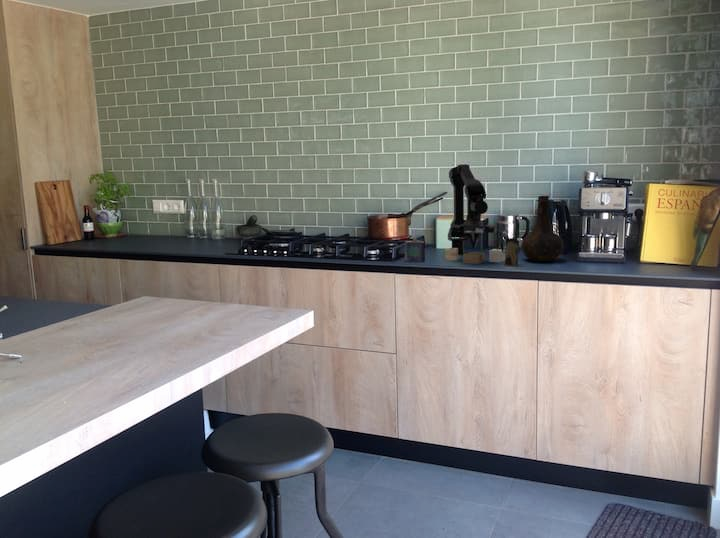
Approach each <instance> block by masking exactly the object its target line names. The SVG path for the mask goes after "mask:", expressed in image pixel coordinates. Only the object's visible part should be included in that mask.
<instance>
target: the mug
mask: <svg viewBox="0 0 720 538" xmlns="http://www.w3.org/2000/svg"><path fill="white" fill-rule="evenodd" d="M504 238H505V240H504ZM504 241H505V252H504V251H503V250H504ZM518 242H519V241H518V239H517V238H512V237H511V238H510V237H508V236H507V235H504V236H501V237H500V246H501V247H500V248H501V249H502V252H503V253H505V261H504V267H517V266H518V265H519V243H518Z"/></svg>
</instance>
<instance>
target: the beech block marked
mask: <svg viewBox="0 0 720 538" xmlns="http://www.w3.org/2000/svg"><path fill="white" fill-rule="evenodd" d="M444 250H445V252H444V258H445V259H444V261H449V262H451V261H452V262H456V261H458V259H459V254H458V248H452V247H447V248H445V249H444Z"/></svg>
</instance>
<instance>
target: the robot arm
mask: <svg viewBox="0 0 720 538" xmlns="http://www.w3.org/2000/svg"><path fill="white" fill-rule="evenodd" d="M448 178H449V182H450V184H451V185H452V187H453V219H452V221H451V223H450V224H449V225H450V227H449V229H448V233H447V240H448V241H449V242H451V248H458V255H463V254H465V253H467V251H466V250H465V247H464V246H465V242H464V241H468V240H469V242H470V244H471V247H472V249H476V246H477V244H478V241H479V240H480V237H481V234H484V233H486V234H487V233H489V234H490V233H491V234H494V233H496V232H497V230H498V226H497V225H496V224H486V225H484V226H483V225H482V221H481V220H482V219H481V217H482V215H484V214H485V213H487V211H488V208H489V205H488V203H487V201H484V200H487V192H486V189H485V187H484V185H483V183H482V182H481V181H480V180H478V179H476V178H475V176H474V174H473V172H472V171H471V168H470V164H466V163H465V164H458V165H456V166H455V167H452V168H451V169H450V170H449V171H448ZM464 195H465V197H466V200H467V202H466V204H467V206H466V207H467V209H466V210H467V213H466V214H467V215H466V219H465V217H464V216H465V215H464V213H465V212H464V209H465V207H464V206H465V205H464V201H465V198H464Z"/></svg>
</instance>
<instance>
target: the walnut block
mask: <svg viewBox="0 0 720 538" xmlns="http://www.w3.org/2000/svg"><path fill="white" fill-rule="evenodd" d="M462 256H463V257H462V261H463V262H462V263H464V264H476V265H477V264H478V265H480V264H481V263H484V262H485V252H478V251H477V252H476V251H469V252H465V253H463V254H462Z"/></svg>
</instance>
